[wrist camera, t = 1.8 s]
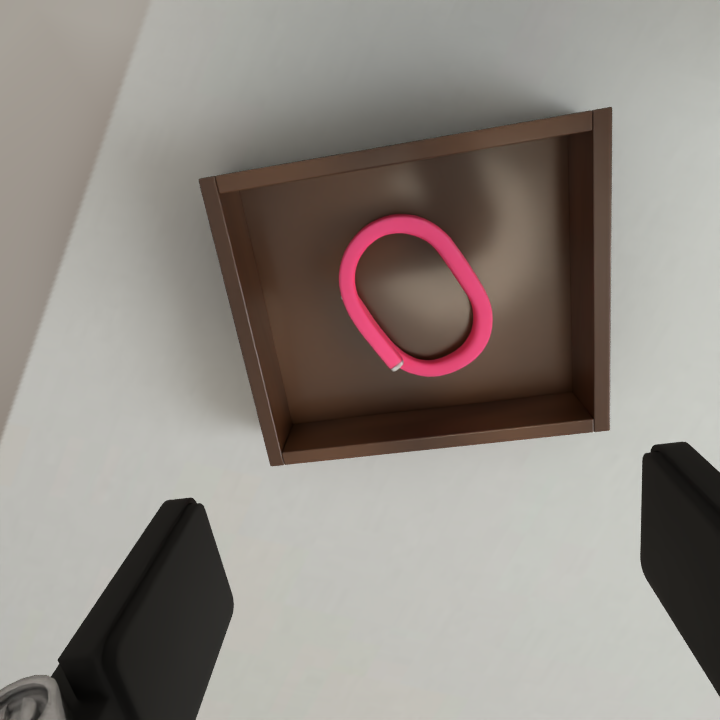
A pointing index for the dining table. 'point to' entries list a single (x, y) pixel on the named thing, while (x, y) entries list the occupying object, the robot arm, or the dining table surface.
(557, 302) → the walnut tray
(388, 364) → the fitness band
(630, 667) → the dining table surface
